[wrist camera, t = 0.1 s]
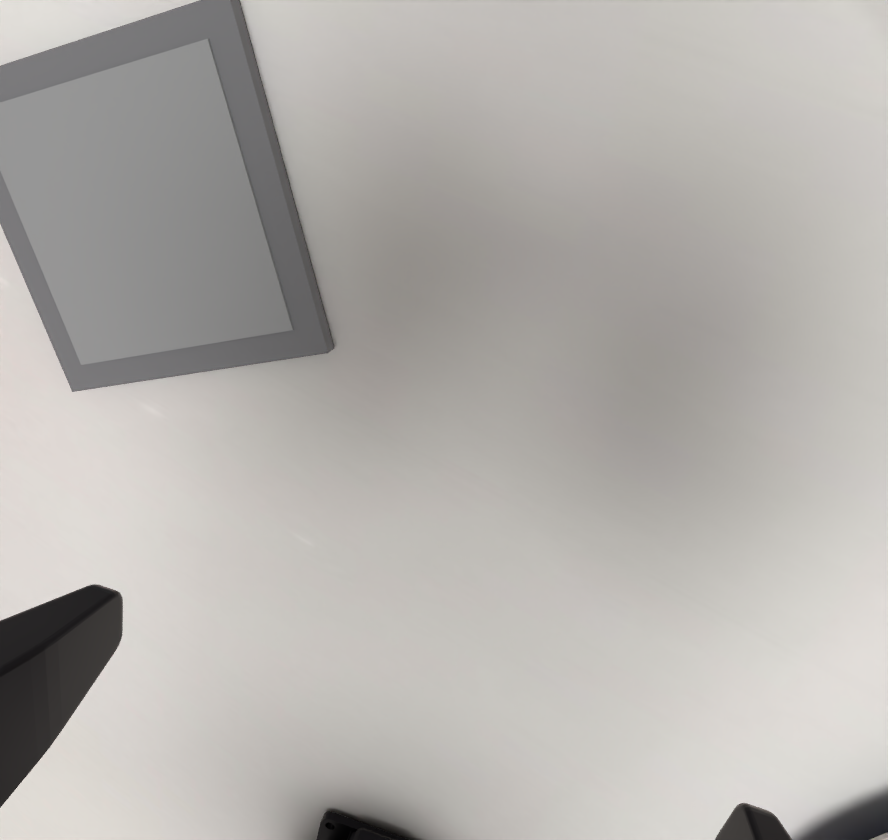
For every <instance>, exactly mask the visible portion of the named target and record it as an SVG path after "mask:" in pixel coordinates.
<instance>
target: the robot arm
mask: <svg viewBox="0 0 888 840" xmlns="http://www.w3.org/2000/svg"><path fill="white" fill-rule="evenodd" d="M122 622H123V600H122V596H121V594H120V593H119V592H118V591H116V590H113V589H110V588H107V587H104V586H101V585H90V586H86V587H84V588H81V589H79V590H76V591H74V592H71V593H69V594H66V595H64V596H61V597H59V598H56V599H54V600H51V601H49V602H46V603H44V604H41V605H39V606H36V607H34V608H31V609H29V610H26V611H24V612H21V613H19V614H16V615H14V616H11V617H9V618H6V619H4V620H1V621H0V807H1V806H2V805H3V804H4V802H5V801H6V800H7V799H8V798H9V796H10V795H11V794H12V793H13V792H14V790H15V789H16V788H17V787H18V785H19V784H20V783H21V782H22V781H23V779H24V778H25V777H26V776H27V775H28V773H29V772H30V771H31V770H32V768H33V767H34V766H35V765H36V764H37V762H38V761H39V760H40V759H41V757H42V756H43V755H44V754H45V752H46V751H47V750H48V749H49V747H50V746H51V745H52V743H53V742H54V740H55V739H56V738H57V736H58V735H59V733H60V732H61V731H62V729H63V728H64V726H65V725H66V723H67V722H68V720H69V719H70V717H71V716H72V714H73V713H74V712H75V710H76V709H77V707H78V706H79V704H80V703H81V701H82V700H83V698H84V697H85V695H86V694H87V692H88V691H89V689H90V688H91V686H92V685H93V683H94V682H95V680H96V679H97V677H98V676H99V675H100V673H101V672H102V670H103V669H104V667H105V666H106V664H107V663H108V661H109V660H110V658H111V657H112V655H113V654H114V652H115V651H116V649H117V647H118V645H119V643H120V641H121V637H122ZM317 840H408V839H406V838H403V837H400V836H397V835H395V834H392V833H389V832H386V831H384V830H381V829H378V828H375V827H373V826H370V825H367V824H364V823H362V822H359V821H356V820H353V819H351V818H348V817H345V816H343V815H340V814H337V813H334V812H326V813H325V814H324V816H323V818H322V821H321V823H320V828H319V832H318V836H317ZM715 840H792V839H791V837H790V836H789V834H788V833H787V831H786V830H785V828H784V827H783V825H782V824H781V823H780V821H779V820H778V818H777V817H776V816H775V815H774V814H773V813H771V812H769V811H767V810H764V809H761V808H759V807H756V806H753V805H750V804H747V803H741V804H739V805H737V807H736V808H735V809H734V811H733V812H732V814H731V815H730V817H729V818H728V820H727V821H726V823H725V824H724V826H723V827H722V829H721V830H720V832H719V834H718V835H717V837H716V839H715Z"/></svg>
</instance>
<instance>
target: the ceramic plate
mask: <svg viewBox="0 0 888 840" xmlns="http://www.w3.org/2000/svg"><path fill="white" fill-rule="evenodd" d="M870 840H888V833H885V834H882V835H879V836H877V837H875V838H872V839H870Z"/></svg>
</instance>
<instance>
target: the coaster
mask: <svg viewBox="0 0 888 840" xmlns="http://www.w3.org/2000/svg"><path fill="white" fill-rule="evenodd" d="M0 224H1V226H2V228H3V231H4V233H5V236H6V238H7V240H8V243H9V245H10V247H11V250H12V252H13V254H14V257H15V259H16V261H17V264H18V266H19V268H20V271H21V273H22V275H23V278H24V280H25V282H26V285H27V287H28V289H29V292H30V294H31V296H32V299H33V301H34V303H35V306H36V308H37V310H38V313H39V315H40V317H41V320H42V322H43V324H44V327H45V329H46V331H47V334H48V336H49V338H50V341H51V343H52V345H53V348H54V350H55V352H56V355H57V357H58V359H59V362H60V364H61V366H62V369H63V371H64V373H65V376H66V378H67V380H68V383H69V385H70V387H71V390H72V392H74V391H81V390H87V389H94V388H100V387H107V386H113V385H120V384H127V383H133V382H140V381H146V380H153V379H159V378H166V377H173V376H179V375H186V374H192V373H199V372H205V371H212V370H219V369H225V368H232V367H238V366H245V365H251V364H258V363H265V362H271V361H278V360H284V359H291V358H297V357H304V356H311V355H317V354H324V353H328V352H330V351H331V350H332V349H333V348H334V346H333V342H332V339H331V335H330V331H329V328H328V324H327V320H326V317H325V313H324V309H323V306H322V302H321V298H320V295H319V291H318V287H317V284H316V280H315V276H314V273H313V269H312V265H311V262H310V258H309V254H308V251H307V247H306V243H305V240H304V236H303V232H302V229H301V225H300V221H299V218H298V214H297V210H296V207H295V203H294V199H293V196H292V192H291V188H290V185H289V181H288V177H287V174H286V170H285V166H284V163H283V159H282V155H281V152H280V148H279V144H278V141H277V137H276V133H275V130H274V126H273V122H272V119H271V115H270V111H269V108H268V104H267V100H266V97H265V93H264V89H263V86H262V82H261V78H260V75H259V71H258V67H257V64H256V60H255V56H254V53H253V49H252V45H251V42H250V38H249V34H248V31H247V27H246V23H245V20H244V16H243V12H242V9H241V5H240V2H239V0H200V1H197V2H194V3H191V4H188V5H185V6H182V7H179V8H175V9H172V10H169V11H166V12H163V13H160V14H157V15H154V16H151V17H148V18H145V19H142V20H139V21H136V22H133V23H130V24H127V25H124V26H120V27H117V28H114V29H111V30H108V31H105V32H102V33H99V34H96V35H93V36H90V37H87V38H84V39H81V40H78V41H75V42H72V43H68V44H65V45H62V46H59V47H56V48H53V49H50V50H47V51H44V52H41V53H38V54H35V55H32V56H29V57H26V58H23V59H20V60H17V61H13V62H10V63H7V64H4V65H1V66H0Z"/></svg>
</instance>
